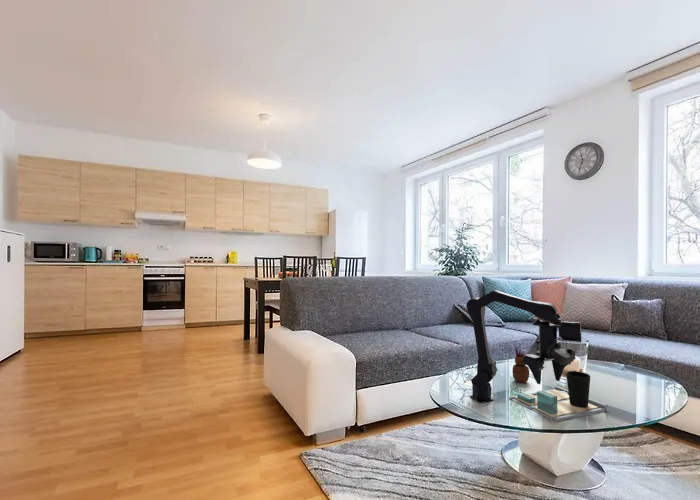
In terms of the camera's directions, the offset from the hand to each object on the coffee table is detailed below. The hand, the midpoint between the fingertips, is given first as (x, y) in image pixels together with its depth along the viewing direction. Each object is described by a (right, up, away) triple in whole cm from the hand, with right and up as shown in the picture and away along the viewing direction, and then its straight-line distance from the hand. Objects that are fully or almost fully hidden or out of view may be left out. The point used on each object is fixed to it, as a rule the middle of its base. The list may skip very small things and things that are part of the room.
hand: (548, 382), depth 132 cm
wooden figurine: (+5, -12, +33) cm, 35 cm away
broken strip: (+5, -11, +12) cm, 17 cm away
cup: (+14, -11, +5) cm, 18 cm away
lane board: (+7, -11, +8) cm, 15 cm away
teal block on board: (+8, -11, +3) cm, 13 cm away
